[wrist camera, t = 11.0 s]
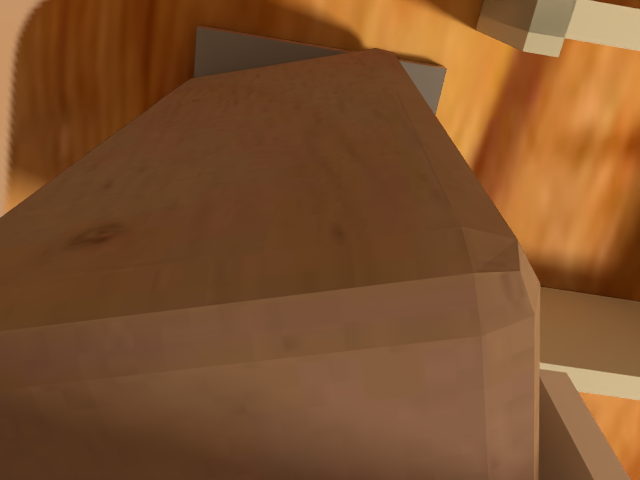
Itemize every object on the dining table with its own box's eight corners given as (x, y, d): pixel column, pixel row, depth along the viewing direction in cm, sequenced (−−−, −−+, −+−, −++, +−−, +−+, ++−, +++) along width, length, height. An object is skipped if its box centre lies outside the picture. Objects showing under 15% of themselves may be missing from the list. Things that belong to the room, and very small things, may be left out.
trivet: (187, 245, 30) (184, 251, 29) (200, 25, 25) (196, 27, 24) (392, 275, 30) (394, 283, 29) (443, 65, 25) (446, 68, 25)
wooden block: (174, 78, 25) (-238, 352, 7) (397, 41, 24) (570, 250, 6) (225, 272, 29) (48, 750, 11) (417, 247, 28) (553, 726, 10)
